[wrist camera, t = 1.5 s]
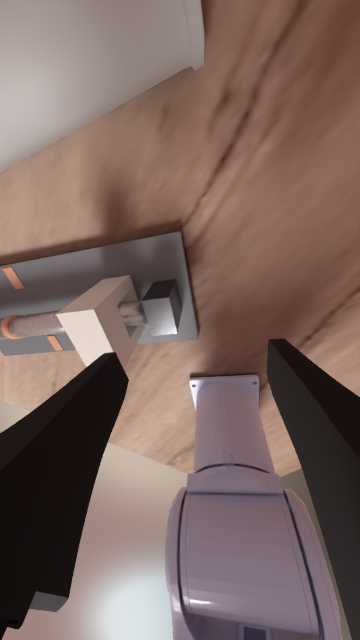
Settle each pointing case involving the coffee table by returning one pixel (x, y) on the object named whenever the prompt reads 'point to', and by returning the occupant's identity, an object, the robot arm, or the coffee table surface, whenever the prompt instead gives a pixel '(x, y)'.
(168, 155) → the coffee table surface
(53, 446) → the robot arm
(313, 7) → the coffee table surface
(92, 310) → the collar
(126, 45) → the tube
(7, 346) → the rod board
